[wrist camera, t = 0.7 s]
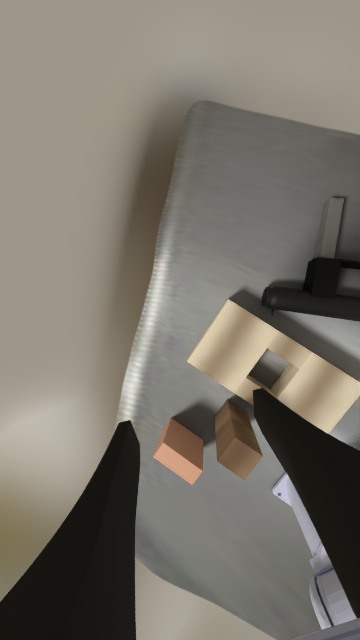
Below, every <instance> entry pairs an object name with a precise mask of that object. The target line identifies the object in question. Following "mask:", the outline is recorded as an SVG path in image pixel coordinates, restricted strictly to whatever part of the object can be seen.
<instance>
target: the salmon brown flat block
mask: <svg viewBox="0 0 360 640" xmlns="http://www.w3.org/2000/svg"><path fill="white" fill-rule="evenodd" d="M153 457H154V458H156V459H157V460H158V461H160V462H161V463H162V464H164V465H165V466H167V467H168V468H169V469H171V470H172V471H173V472H175V473H176V474H178V475H179V476H180V477H182V478H183V479H184V480H186V481H187V482H189V483H190V484H191V485H193V483H194V482H195V481H196V479H197V478H198V477H199V475H200V474H201V472H202V471H203V440H202V439H201V438H199V437H198V436H196V435H195V434H194V433H192V432H191V431H189V430H188V429H186V428H185V427H184V426H182V425H181V424H179V423H178V422H176V421H175V420H174V419H172V418H171V419H170V420H169V422H168V423H167V424H166V426H165V427H164V429H163V431H162V434H161V437H160V439H159V442H158V445H157V448H156V450H155V453H154V456H153Z"/></svg>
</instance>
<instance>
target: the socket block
mask: <svg viewBox="0 0 360 640" xmlns="http://www.w3.org/2000/svg"><path fill="white" fill-rule="evenodd" d="M267 348H268V349H270V350H271V351H273V352H274V353H276V354H277V355H279V356H280V357H282V358H284V359H285V360H287V361H288V362H290V364H289V365H288V366H287V368H286V369H285V370H284V372H283V373H282V374H281V376H280V377H279V378H278V380H277V381H276V382H275V384H274V385H273V386H272V388H271V389H269V388H267V387H266V386H264V385H263V384H261V383H260V382H258V381H257V380H255V379H254V378H252V377H251V376H249V375H248V374H249V372H250V371H251V370H252V368H253V367H254V365H255V364H256V363H257V361H258V360H259V358H260V357H261V356H262V354H263V353H264V352H265V350H266V349H267ZM187 362H189V363H190V364H192V365H193V366H195V367H196V368H198V369H199V370H201V371H202V372H204V373H205V374H207V375H208V376H210V377H211V378H213V379H214V380H216V381H217V382H219V383H220V384H222V385H223V386H225V387H226V388H228V389H229V390H231V391H232V392H234V393H235V394H237V395H238V396H240V397H241V398H243V399H244V400H245V401H247V402H248V403H250V404H251V405H253V390H256V389H260V388H264V389H265V390H267V391H268V392H269V393H270V394H272V395H273V396H274V397H275V398H277V399H278V400H279V401H281V402H282V403H283V404H285V405H286V406H287V407H289V408H290V409H291V410H293V411H294V412H296V413H297V414H298V415H300V416H301V417H303V418H304V419H306V420H307V421H309V422H310V423H312V424H313V425H315V426H316V427H318V428H319V429H321V430H323V431H324V432H326V433H327V434H328V433H329V432H330V431H331V430H332V428H333V427H334V426H335V425H336V424H337V422H338V421H339V420H340V419H341V417H342V416H343V415H344V414H345V413H346V411H347V410H348V409H349V408H350V406H351V405H352V404H353V403H354V402H355V400H356V399H357V398H358V397H359V395H360V382H358V381H357V380H355V379H354V378H352V377H350V376H349V375H347V374H346V373H344V372H343V371H341V370H339V369H338V368H336V367H335V366H333V365H331V364H330V363H328V362H327V361H325V360H324V359H322V358H320V357H319V356H317V355H316V354H314V353H313V352H311V351H309V350H308V349H306V348H305V347H303V346H301V345H300V344H298V343H297V342H295V341H294V340H292V339H290V338H289V337H287V336H286V335H284V334H283V333H281V332H279V331H278V330H276V329H275V328H273V327H271V326H270V325H268V324H267V323H265V322H264V321H262V320H260V319H259V318H257V317H256V316H254V315H253V314H251V313H249V312H248V311H246V310H245V309H243V308H241V307H240V306H238V305H237V304H235V303H234V302H232V301H230V300H229V299H228V300H226V301H225V303H224V304H223V306H222V307H221V309H220V310H219V312H218V313H217V315H216V316H215V318H214V319H213V321H212V322H211V324H210V325H209V327H208V328H207V330H206V331H205V333H204V334H203V336H202V337H201V339H200V340H199V342H198V343H197V345H196V346H195V348H194V349H193V351H192V352H191V354H190V355H189V357H188V360H187ZM253 406H254V405H253Z"/></svg>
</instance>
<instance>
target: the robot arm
mask: <svg viewBox="0 0 360 640" xmlns="http://www.w3.org/2000/svg"><path fill="white" fill-rule="evenodd" d="M253 405H254V417H255V419H256V421H257V423H258V425H259V427H260V429H261V431H262V434H263V435H264V437H265V439H266V440H267V442H268V444H269V445H270V447H271V448H272V450H273V452H274V453H275V455H276V457H277V458H278V460H279V462H280V463H281V465H282V466H283V468H284V470H285V471H286V473H285V474H284V475H283V476H282V477H281V479H280V480H279V481H278V482H277V484H276V485H275V486H274V487H273V489H272V491H273V494H274V495H276V496H277V497H279V498H280V499H282V500H283V501H284V502H286V503H287V504H289V505H290V506H292V507H293V510H294V512H295V515H296V517H297V519H298V522H299V524H300V526H301V529H302V531H303V533H304V536H305V538H306V540H307V543H308V545H309V548H310V550H311V552H312V555H313V558H312V559H311V560H310V562H311V565H312V567H313V570H314V572H315V575H316V576H315V575H314V576H312V577H310V579H309V584H310V597H311V601H312V604H313V607H314V610H315V613H316V616H317V618H318V621H319V623H320V626H321V628H322V630H319V631H316V632H312V633H309V634H306V635H303V636H299V637H296V638H293V639H290V640H360V451H359V450H357V449H355V448H353V447H351V446H349V445H347V444H345V443H343V442H341V441H340V440H338V439H336V438H334V437H333V436H331V435H329V434H327V433H326V432H324V431H323V430H321V429H319V428H318V427H316V426H315V425H313V424H312V423H310V422H309V421H307V420H306V419H304V418H303V417H301V416H300V415H298V414H297V413H296V412H294V411H293V410H291V409H290V408H289V407H287V406H286V405H285V404H283V403H282V402H281V401H279V400H278V399H277V398H275V397H274V396H273V395H272V394H270V393H269V392H268V391H267V390H265V389H264V388H260V389H256V390H253ZM139 471H140V444H139V441H138V439H137V436H136V434H135V431H134V428H133V426H132V423H131V421H130V420H128V421H124V422H120V423H119V424H118V426H117V428H116V431H115V433H114V435H113V437H112V439H111V441H110V443H109V446H108V448H107V450H106V452H105V454H104V455H103V457H102V460H101V461H100V463H99V465H98V467H97V469H96V471H95V472H94V474H93V476H92V478H91V479H90V481H89V483H88V485H87V486H86V488H85V490H84V491H83V493H82V495H81V496H80V498H79V499H78V501H77V502H76V504H75V506H74V507H73V509H72V510H71V512H70V513H69V515H68V516H67V517H66V519H65V520H64V522H63V523H62V525H61V526H60V528H59V529H58V530H57V532H56V533H55V535H54V536H53V537H52V539H51V540H50V541H49V543H48V544H47V545H46V546H45V548H44V549H43V550H42V552H41V553H40V554H39V556H38V557H37V558H36V560H35V561H34V562H33V564H32V565H31V566H30V567H29V569H28V570H27V571H26V572H25V574H24V575H23V576H22V577H21V578H20V579H19V581H18V582H17V583H16V584H15V585H14V587H13V588H12V589H11V590H10V591H9V592H8V594H7V595H6V596H5V597H4V598H3V600H2V601H1V602H0V640H136V623H135V519H136V506H137V495H138V483H139ZM278 493H280V494H278Z"/></svg>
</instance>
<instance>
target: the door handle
mask: <svg viewBox="0 0 360 640" xmlns="http://www.w3.org/2000/svg"><path fill="white" fill-rule="evenodd" d="M343 202H344V199H342V198H329V199H328V200H327V201H326V202H325V205H324V210H323V215H322V220H321V225H320V230H319V235H318V240H317V245H316V250H315V255H314V259H313V260H311V261H309V262H308V267H307V272H306V277H305V282H304V287H303V290H297V289H289V288H281V287H272V288H269V287H266V288H265V290H264V292H263V296H262V305H263V306H267V307H269V308H271V309H272V310H273V311H274V309H277V310H284V311H291V312H298V313H304V314H311V315H318V316H325V317H332V318H339V319H346V320H353V321H360V298H357V297H350V296H342V295H336V289H337V283H338V277H339V272H340V267H343V268H352V269H360V262H358V261H349V260H341V259H334V255H335V249H336V243H337V237H338V232H339V226H340V220H341V214H342V208H343ZM273 311H272V315H273Z"/></svg>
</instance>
